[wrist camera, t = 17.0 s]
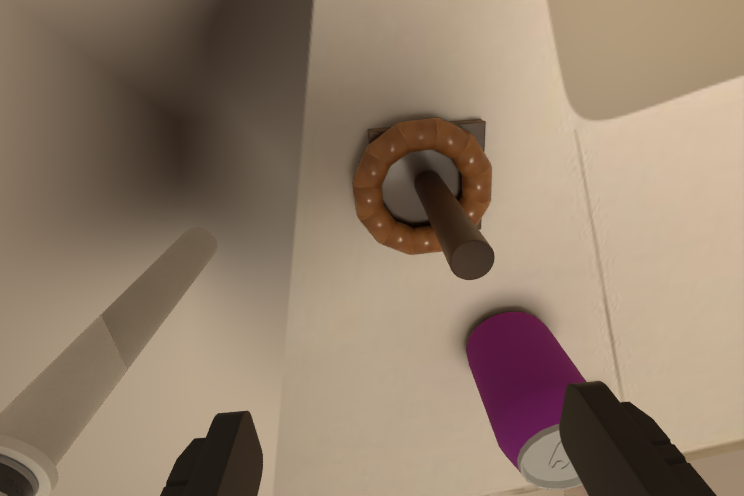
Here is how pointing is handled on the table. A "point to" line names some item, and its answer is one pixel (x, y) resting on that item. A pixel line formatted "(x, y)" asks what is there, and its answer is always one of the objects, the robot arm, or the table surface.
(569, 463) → the beverage can
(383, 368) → the table surface
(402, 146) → the ring
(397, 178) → the peg stand
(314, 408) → the table surface
